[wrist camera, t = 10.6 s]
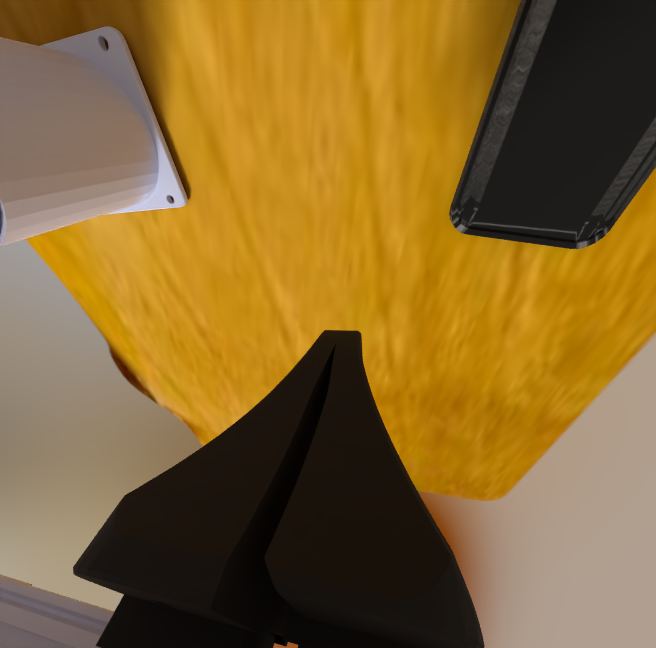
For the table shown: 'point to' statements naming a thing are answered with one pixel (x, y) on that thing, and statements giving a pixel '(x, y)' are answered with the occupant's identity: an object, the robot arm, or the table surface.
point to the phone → (564, 125)
